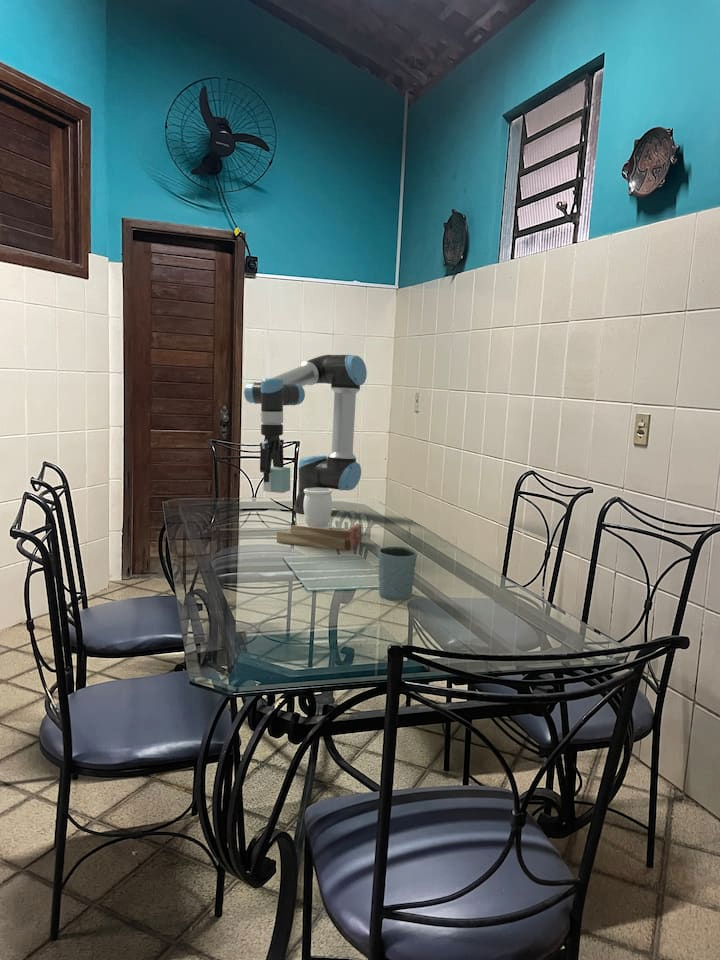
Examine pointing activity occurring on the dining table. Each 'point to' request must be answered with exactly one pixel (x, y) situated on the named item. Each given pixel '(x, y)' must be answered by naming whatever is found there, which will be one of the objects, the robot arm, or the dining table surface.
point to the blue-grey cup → (396, 572)
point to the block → (280, 479)
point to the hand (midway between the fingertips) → (272, 489)
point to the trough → (321, 537)
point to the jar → (317, 507)
